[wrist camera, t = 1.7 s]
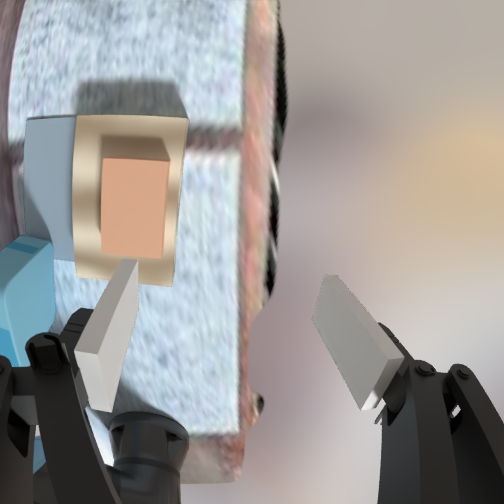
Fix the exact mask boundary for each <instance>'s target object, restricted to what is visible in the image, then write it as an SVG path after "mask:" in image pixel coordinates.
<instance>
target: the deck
mask: <svg viewBox="0 0 504 504" xmlns="http://www.w3.org/2000/svg"><path fill="white" fill-rule="evenodd" d="M188 127H189V120H188V119H187V118H177V117H162V116H142V115H77V121H76V131H75V142H74V156H73V179H72V218H73V241H74V256H75V267H76V277H82V278H91V279H99V280H108V281H110V280H111V278H112V276H113V274H114V273H115V271H116V269H117V267H118V266H119V264H120V262H121V260H122V259H123V258H124V259H134V260H138V284H147V285H157V286H168V287H172V283H173V278H174V272H175V259H176V243H177V229H178V216H179V205H180V194H181V184H182V175H183V166H184V158H185V149H186V142H187V134H188ZM109 156H113V157H135V158H152V159H166V160H171V163H170V172H169V182H168V193H167V205H166V219H165V235H164V251H163V254H162V258H161V259H159V258H148V257H137V256H126V255H115V254H105V253H102V249H101V189H102V168H103V158H106V157H109Z"/></svg>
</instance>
